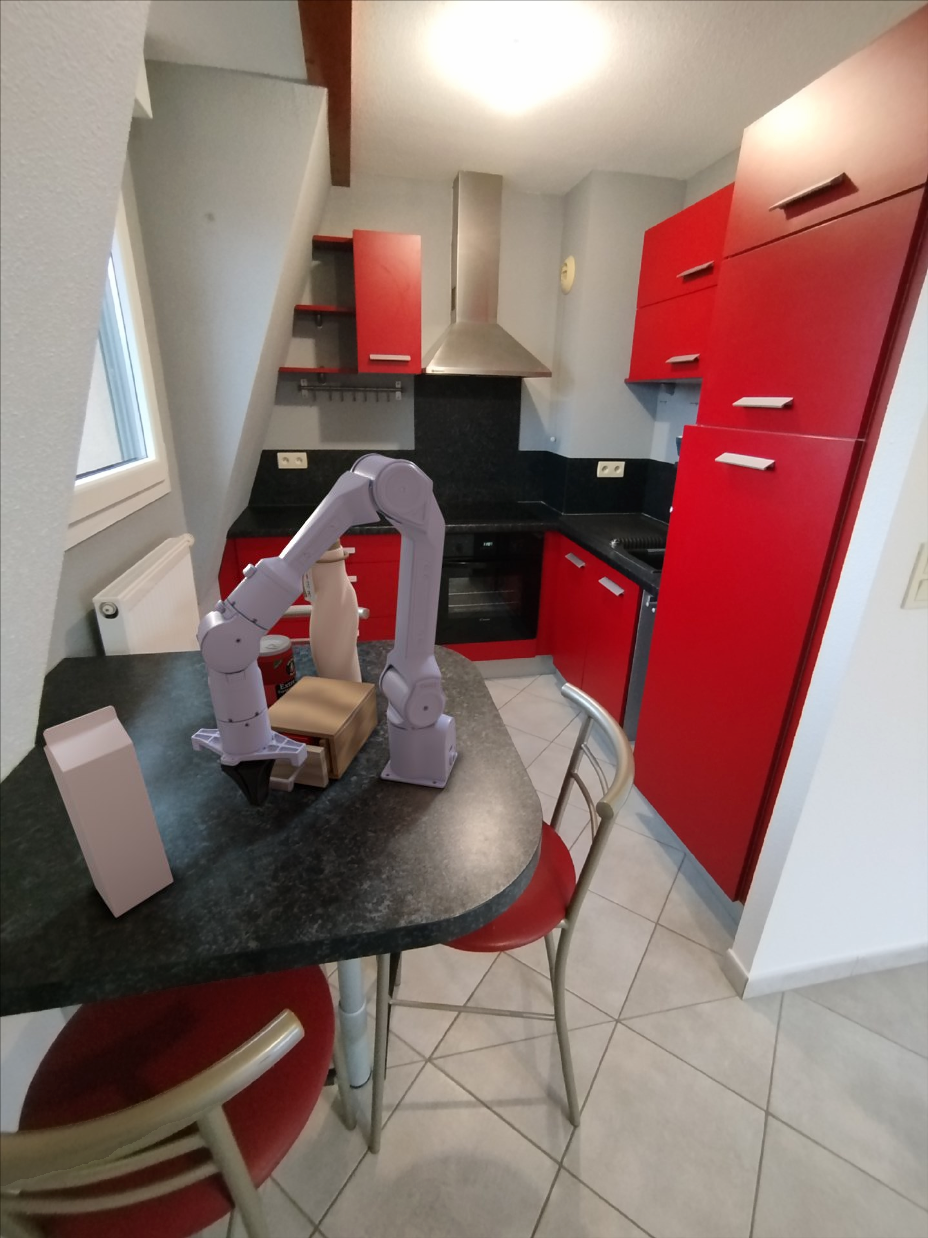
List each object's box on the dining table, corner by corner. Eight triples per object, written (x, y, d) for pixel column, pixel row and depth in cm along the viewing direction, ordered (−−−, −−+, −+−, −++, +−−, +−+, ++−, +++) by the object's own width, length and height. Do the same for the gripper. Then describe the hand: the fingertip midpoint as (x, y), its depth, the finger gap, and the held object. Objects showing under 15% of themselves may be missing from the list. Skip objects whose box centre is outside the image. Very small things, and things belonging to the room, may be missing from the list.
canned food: (286, 711, 93) (277, 654, 88) (245, 706, 94) (234, 650, 90) (306, 689, 100) (299, 636, 95) (268, 685, 101) (259, 632, 97)
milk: (174, 882, 60) (126, 715, 51) (115, 920, 55) (52, 744, 47) (151, 855, 63) (103, 694, 55) (94, 888, 59) (32, 719, 51)
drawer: (306, 812, 68) (301, 776, 66) (229, 798, 71) (221, 763, 69) (364, 732, 85) (361, 701, 83) (300, 723, 87) (295, 692, 85)
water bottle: (338, 703, 95) (320, 551, 84) (302, 690, 99) (281, 544, 88) (374, 678, 103) (363, 537, 92) (339, 668, 107) (324, 532, 97)
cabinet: (339, 779, 76) (333, 734, 73) (260, 767, 78) (252, 723, 76) (378, 723, 89) (374, 683, 86) (309, 714, 92) (304, 675, 89)
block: (325, 747, 80) (321, 722, 78) (310, 765, 76) (306, 739, 74) (298, 743, 81) (294, 718, 79) (282, 760, 77) (278, 735, 75)
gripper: (164, 720, 61) (188, 813, 66) (277, 736, 57) (294, 833, 62) (205, 689, 67) (225, 777, 72) (309, 703, 64) (322, 793, 69)
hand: (259, 800), depth 68 cm, fingers closed, pressing on drawer
